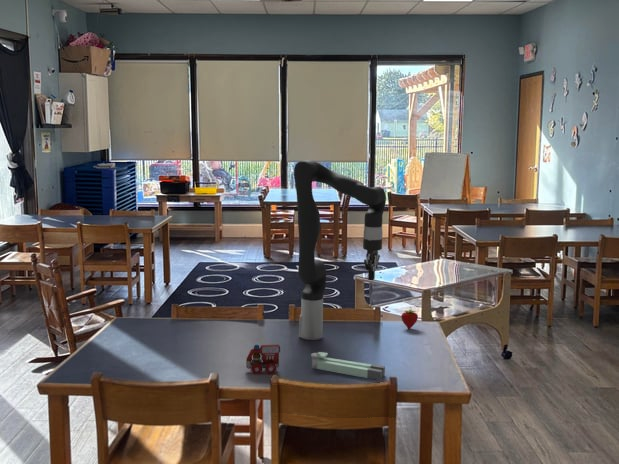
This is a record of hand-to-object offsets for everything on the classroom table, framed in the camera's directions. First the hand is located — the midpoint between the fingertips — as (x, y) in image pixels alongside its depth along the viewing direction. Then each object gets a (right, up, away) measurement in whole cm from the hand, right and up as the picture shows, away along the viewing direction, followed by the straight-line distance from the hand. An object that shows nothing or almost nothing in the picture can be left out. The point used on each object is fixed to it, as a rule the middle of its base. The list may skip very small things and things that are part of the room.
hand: (371, 279), depth 282 cm
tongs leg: (-11, -33, -22) cm, 41 cm away
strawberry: (+20, -24, +33) cm, 45 cm away
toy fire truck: (-42, -33, -21) cm, 57 cm away
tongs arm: (-11, -33, -20) cm, 40 cm away
